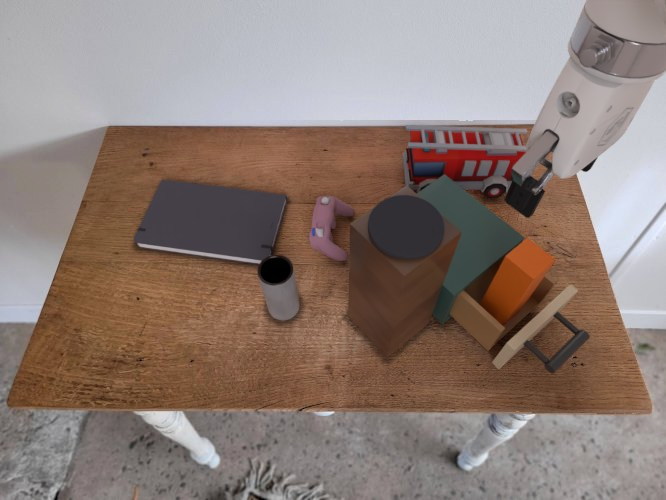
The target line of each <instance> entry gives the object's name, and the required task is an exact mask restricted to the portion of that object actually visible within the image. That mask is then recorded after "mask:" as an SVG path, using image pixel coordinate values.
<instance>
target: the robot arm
mask: <svg viewBox="0 0 666 500" xmlns="http://www.w3.org/2000/svg"><path fill="white" fill-rule="evenodd" d="M567 52H568V54H569V58H568V59H567V60H566V62H565V64H564V66H563V68H562V69H561V71H560V73H559V75H558V77H557V79H556V80H555V82H554V84H553V86H552V87H551V90H550V92H549V93H548V95H547V97H546V100H545V101H544V103H543V106H542V107H541V109H540V111H539V113H538V116H537V117H536V119H535V122H534V124H533V126H532V129H531V131H530V133H529V136H528V139H527V142H526V145H525V146H526V151H525V152H526V153H525V154H524V155H523V156H522V157H521V158H520V159H519V160H518V161H517V162H516V164H515V165H514V166H513V167H512V169H511V172H512V176H511V180H512V183H511V185H510V187H509V189H508V192H507V193H505V197H504V202H505V203H506V204H507V205H509V206H510V207H511V208H513V209H514V210H515V211H516V212H518V213H519V214H521V215H522V216H523V217H524V218H526V219H529V218H531V217H532V216H533V215H534V213H535V211H536V210H537V207H538V206H539V204H540V202H541V200H542V198H543V196H544V194H545V192H546V190H544V188H545V186H546V185H547V184H548V183H549V181H551V179H552V178H553V177H554V175H555V176H557V177H558V178H559V179H561V180H562V179H563V180H566V179H569V178H572V177H573V176H575V175H576V174H577V173H579V172H581V171H582V172H584V173H587V172H588V171H590V170H591V169H592V168H593V166H594V165H595V163H596V161H597V160H598V158H599V157H600V156H601V155H603V154H604V153H605V152H606V151H607V150H608V149H610V148H612V146H614V145H615V144H616V143H617V142H618V141H620V139H621V138H622V137H623V136H624V135H625V133H626V132H627V130H628V128H629V127H630V125H631V123H632V121H633V120H634V118H635V117H636V114H637V113H638V111H639V109H640V108H641V106H642V104H643V102H644V101H645V99H646V97H647V96H648V94H649V92H650V90H651V88H652V86H653V84H654V83H655V81H656V80H658V79H660V78H661V77H662V76H664V74H665V73H666V0H585V2H584V4H583V7H582V9H581V12H580V14H579V17H578V19H577V21H576V23H575V26H574V29H573V31H572V33H571V35H570V37H569V40H568V43H567ZM550 153H552V157H551V158H552V159H551V160H552V161H551V160H550V159H548V158H546V157H548V155H550ZM539 165H541V166H543V167H544V168H546V170H545V171H544V173H542V175H541V176H540V177H539V179H536V178H535V177H533V176H532V175H533V172H534V171H535V169H536V168H537V167H538V166H539Z"/></svg>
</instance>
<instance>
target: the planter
mask: <svg viewBox="0 0 666 500" xmlns="http://www.w3.org/2000/svg"><path fill="white" fill-rule="evenodd" d="M256 273H257V277H258V281H259V284H260V288H261V290H262V294H263V297H264V301H265V304H266V307H267V310H268V313H269V314H270V316H271V317H272V318H274V319H275V320H278V321H287V320H291V319H292V318H294V317H295V316H296V315H297V314H298V313H299V311H300V305H301V304H300V303H301V302H300V297H299V291H298V285H297V279H296V274H295V268H294V264H293V262H292V261H291V259H290V258H289V257H288V256H286V255H283V254H272V255H270V256H268V257H266V258H264V259H263V260H262V261H261V262H260V264H259V265H257V272H256Z"/></svg>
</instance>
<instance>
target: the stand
mask: <svg viewBox="0 0 666 500" xmlns="http://www.w3.org/2000/svg"><path fill="white" fill-rule="evenodd" d="M398 195H409V196H415V197H418V198H421V197H420V196H419V195H417V192H415V190H411V189H410V188H409V187H408V186H405V185H404V187H402V188H401V189H399V190H398V191H396V192H395V193H393V194H392V195H390V196H389V197H393V196H398ZM421 199H422V198H421ZM373 209H374V207H373V208H371V209H370V210H367V212H366V213H363V215H361V216H360V217H358V218H357V219H354V220H353V221H352V222H351V223H350V224H349V252H348V253H349V254H348V299H347V300H348V302H347V304H348V305H347V307H348V308H347V317H348V318H349V319H350V321H352V322H353V323H354V325H355V326H357V328H358V329H359V330H360V331H361V332H362V333H363V334H364V335H365V337H366V338H368V340H369V341H370V342H371V343H372V344H373V345H374V347H375V348H377V350H379V352H380V353H381V354H382V355H383V356H384V357H385V358H386V359H388V358H389V357H390V356H392V354H394V353H395V352H396V351H397V350H399V349H400V348H401V347H402V346H404V345H405V344H406V343H407V342H408V341H410V340H411V339H412V338H413V337H415V336H416V335H417V334H418V333H419V332H420V331H422V330H423V329H424V328H425V327H427V326H428V325H429V324H430V323H431V320H432V316H433V315H432V314H433V311H434V308H435V305H436V303H437V300H438V297H439V294H440V292H441V289H442V286H443V283H444V281H445V278H446V275H447V272H448V269H449V267H450V264H451V261H452V258H453V256H454V253H455V250H456V247H457V244H458V242H459V239H460V236H461V233H462V232H461V231H460V230H459V229H458V228H457V227H456V226H454V225H453V224H452V223H451V222H450V221H448V220H447V219H446V218H445V217H444V216H442V215H441V216H442V218H443V221H444V235H443V238H442V241H441V243H440V244H439V246H438V247H437V248H436V249H435V250H434V251H433V252H432V253H430V254H428V255H426V256H424V257H421V258H417V259H399V258H395V257H392V256H390V255H388V254H386V253H384V252H383V251H381V250H380V249H379V248H378V247H377V246H376V245H375V244H374V243H373V241H372V240H371V238H370V235H369V231H368V221H369V216H370V214H371V212H372V210H373Z"/></svg>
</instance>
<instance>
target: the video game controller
mask: <svg viewBox="0 0 666 500" xmlns="http://www.w3.org/2000/svg"><path fill="white" fill-rule="evenodd" d="M313 208H314V209H313V212H312V218H311V229H310V230H309V233H308V239H309V244H310V246H311V248H312V249H313V250H314V251H318V252H319V253H321V254H323V255H324V256H326V257H328V258H330V259H333V260H335V261H340V262H345V261H347V260H349V254H348V253H347V251H345V250H344V249H343V248H341V247H340V246H338V245H337V244H335V243H334V237H333V233H332V232H331V231H332V230H334V229H336V228H337V227H336V226H337V220H336V218H335V214H336V215H339V216H342V217H348V218H349V217H353V216H354V215H355V209H354V208H353V206H351V205H349V204H348V203H347V202H344V201H342V200H340V199H338V198H336V197H335V196H333V195H321V196H318V197H317V198H316V200H315V205H314V207H313Z"/></svg>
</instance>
